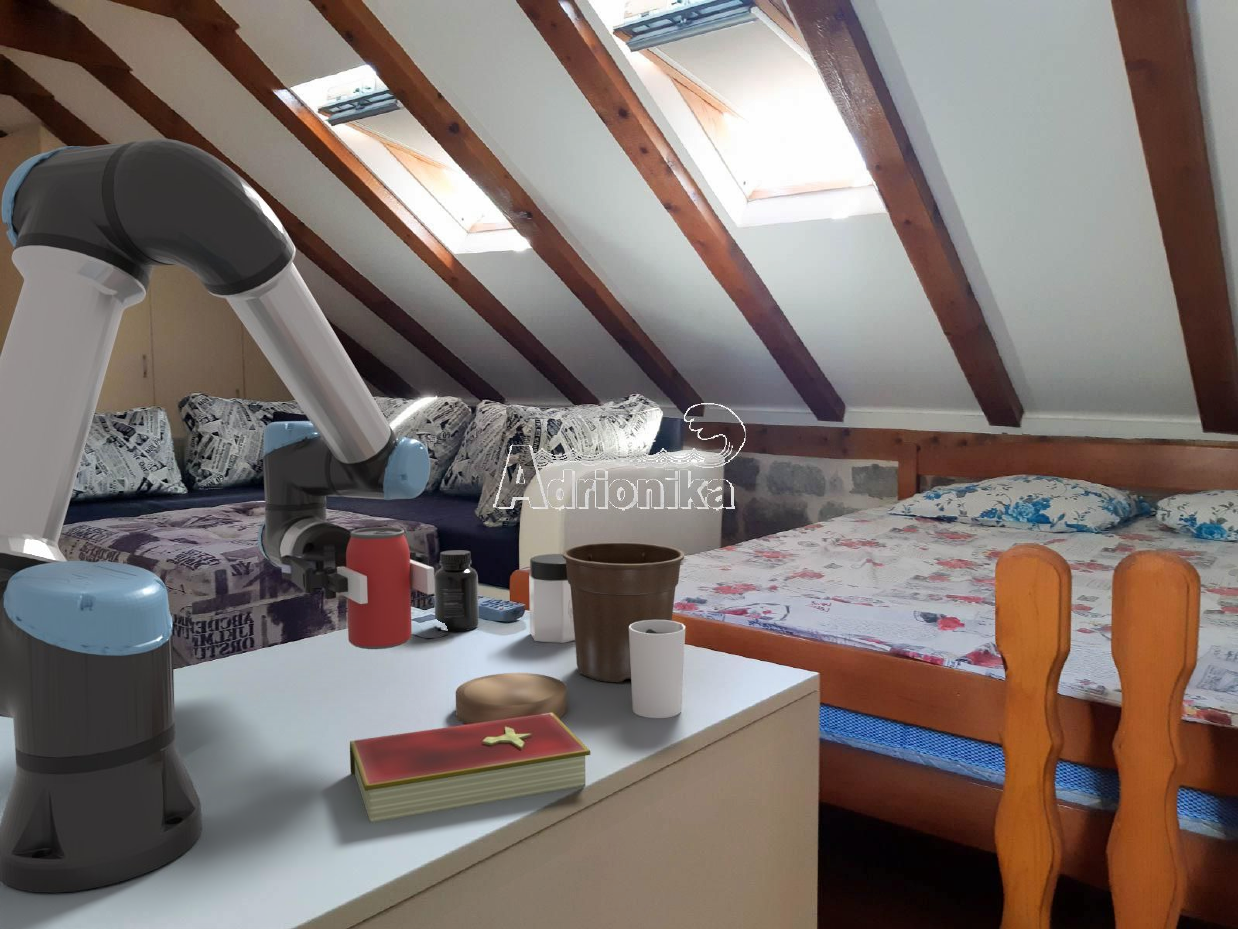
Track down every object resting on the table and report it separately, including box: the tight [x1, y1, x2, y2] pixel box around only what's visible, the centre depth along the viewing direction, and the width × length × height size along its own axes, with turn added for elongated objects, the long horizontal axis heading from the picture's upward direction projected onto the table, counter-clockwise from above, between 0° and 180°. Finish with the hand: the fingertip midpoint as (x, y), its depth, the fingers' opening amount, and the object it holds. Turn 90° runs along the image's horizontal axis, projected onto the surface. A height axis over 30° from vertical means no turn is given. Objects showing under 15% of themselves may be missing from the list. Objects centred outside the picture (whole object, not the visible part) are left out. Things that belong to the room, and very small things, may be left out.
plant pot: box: [561, 542, 685, 683], centre depth 128 cm, size 16×16×16 cm
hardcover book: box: [349, 713, 591, 823], centre depth 93 cm, size 12×21×4 cm, turn 112°
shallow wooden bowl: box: [455, 672, 568, 725], centre depth 113 cm, size 13×13×2 cm
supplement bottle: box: [434, 549, 480, 633], centre depth 151 cm, size 7×7×12 cm
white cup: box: [629, 620, 686, 719], centre depth 112 cm, size 7×7×10 cm
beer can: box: [346, 526, 413, 650], centre depth 101 cm, size 7×7×12 cm
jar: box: [528, 553, 575, 644], centre depth 145 cm, size 9×8×12 cm
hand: (397, 585), depth 97 cm, fingers closed on beer can, 6 cm apart
